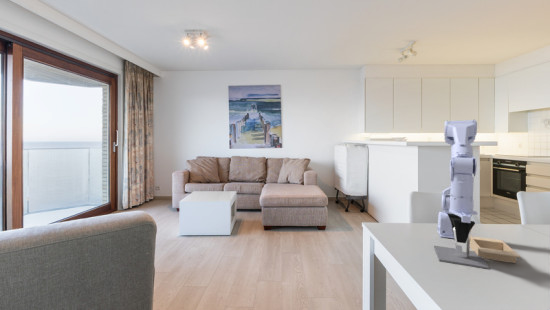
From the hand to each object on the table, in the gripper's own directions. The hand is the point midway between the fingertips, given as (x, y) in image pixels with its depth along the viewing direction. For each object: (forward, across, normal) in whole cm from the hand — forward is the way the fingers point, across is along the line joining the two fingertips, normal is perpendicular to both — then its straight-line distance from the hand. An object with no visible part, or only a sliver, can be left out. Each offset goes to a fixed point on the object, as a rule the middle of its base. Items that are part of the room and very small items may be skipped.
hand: (459, 239), depth 82 cm
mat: (+5, 0, 0) cm, 5 cm away
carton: (+5, +7, -10) cm, 13 cm away
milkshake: (+5, 0, -1) cm, 5 cm away
